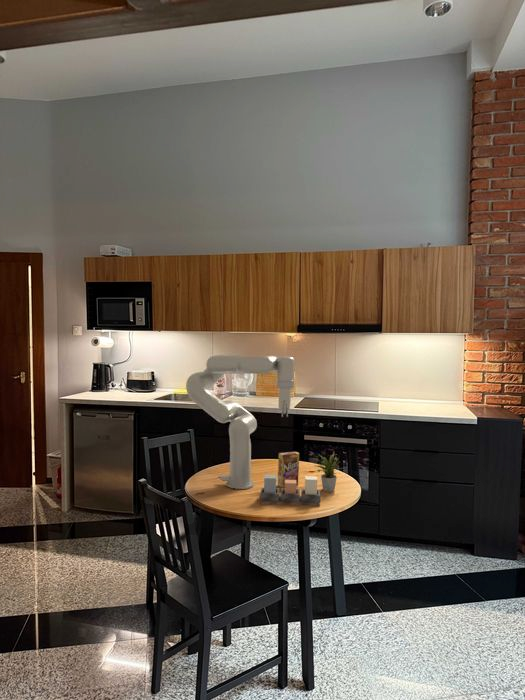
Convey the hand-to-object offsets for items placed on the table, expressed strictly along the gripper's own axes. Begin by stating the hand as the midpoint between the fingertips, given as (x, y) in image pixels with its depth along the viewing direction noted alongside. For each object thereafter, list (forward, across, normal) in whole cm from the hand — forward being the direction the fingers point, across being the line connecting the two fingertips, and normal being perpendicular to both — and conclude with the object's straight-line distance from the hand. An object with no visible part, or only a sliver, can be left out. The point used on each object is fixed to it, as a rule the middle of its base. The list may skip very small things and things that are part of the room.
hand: (284, 425), depth 223 cm
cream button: (+26, +14, +12) cm, 32 cm away
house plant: (+29, -4, +20) cm, 36 cm away
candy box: (+29, -7, +2) cm, 30 cm away
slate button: (+26, +14, -5) cm, 30 cm away
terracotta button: (+28, +14, +3) cm, 31 cm away
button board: (+29, +14, +3) cm, 32 cm away
